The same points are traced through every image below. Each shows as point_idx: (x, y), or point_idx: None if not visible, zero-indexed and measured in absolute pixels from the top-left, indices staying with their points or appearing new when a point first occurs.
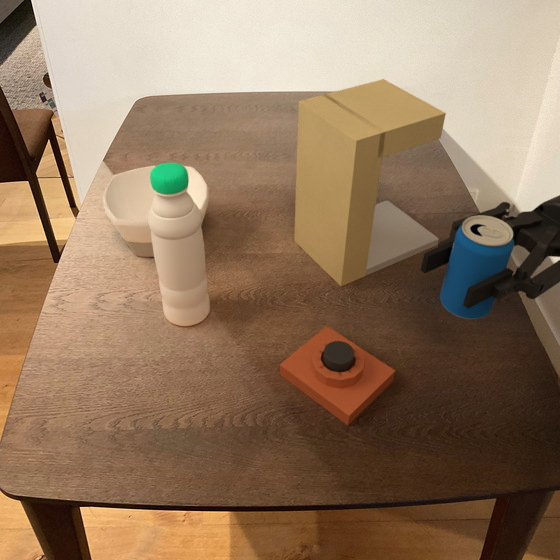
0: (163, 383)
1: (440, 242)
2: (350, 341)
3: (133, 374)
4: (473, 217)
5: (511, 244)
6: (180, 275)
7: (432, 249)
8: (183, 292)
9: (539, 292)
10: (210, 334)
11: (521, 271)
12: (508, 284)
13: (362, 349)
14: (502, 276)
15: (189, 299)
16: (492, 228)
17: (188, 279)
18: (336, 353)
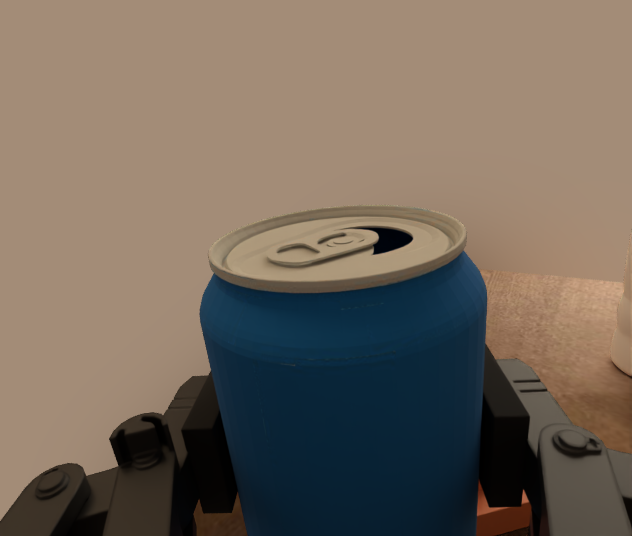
0: (504, 330)
1: (526, 367)
2: (510, 507)
3: (525, 317)
4: (459, 233)
5: (208, 296)
6: (626, 263)
7: None
8: (622, 297)
9: None
10: (592, 376)
11: (138, 418)
12: (176, 410)
13: (478, 515)
14: (206, 382)
15: (620, 313)
16: (335, 254)
17: (628, 278)
18: None
